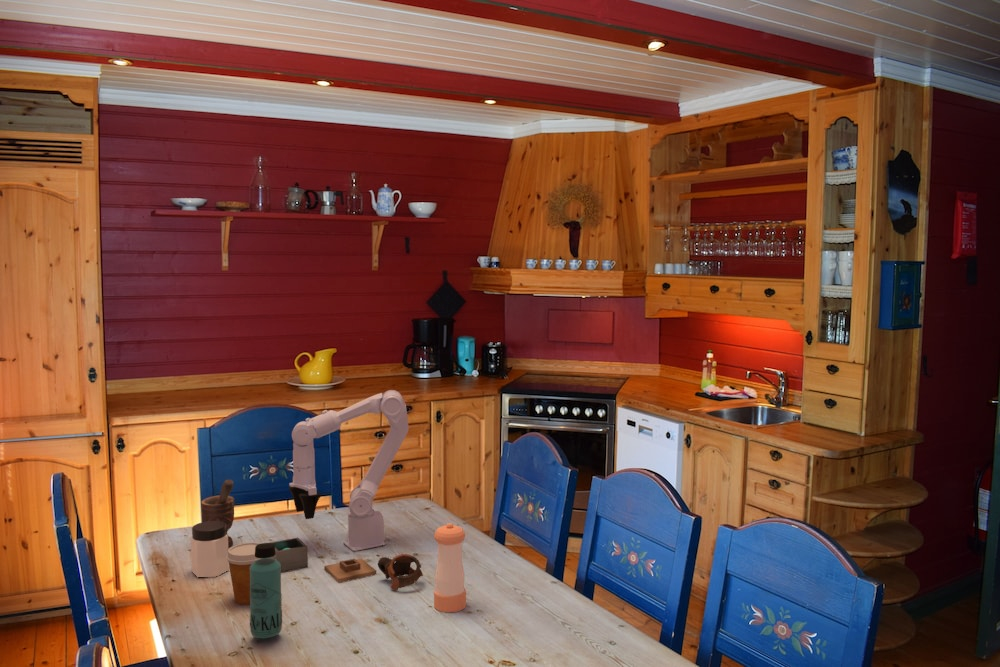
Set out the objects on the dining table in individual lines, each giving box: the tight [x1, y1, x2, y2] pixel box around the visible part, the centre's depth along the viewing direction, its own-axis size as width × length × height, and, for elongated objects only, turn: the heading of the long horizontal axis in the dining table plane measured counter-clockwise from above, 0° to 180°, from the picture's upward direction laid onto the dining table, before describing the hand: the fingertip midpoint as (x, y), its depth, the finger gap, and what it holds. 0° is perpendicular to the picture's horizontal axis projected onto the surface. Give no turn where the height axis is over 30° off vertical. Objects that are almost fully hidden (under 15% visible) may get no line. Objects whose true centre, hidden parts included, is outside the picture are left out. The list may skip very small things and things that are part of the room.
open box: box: [269, 536, 309, 574], centre depth 203 cm, size 8×8×6 cm
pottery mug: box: [377, 553, 424, 592], centre depth 191 cm, size 12×10×8 cm
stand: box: [323, 558, 377, 584], centre depth 199 cm, size 10×10×2 cm
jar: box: [190, 521, 230, 578], centre depth 199 cm, size 9×8×12 cm
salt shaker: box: [433, 522, 467, 613], centre depth 178 cm, size 7×7×19 cm
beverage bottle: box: [248, 542, 283, 639], centre depth 162 cm, size 6×7×20 cm
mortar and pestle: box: [200, 479, 235, 549], centre depth 216 cm, size 12×9×20 cm
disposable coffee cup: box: [226, 542, 263, 606], centre depth 182 cm, size 10×10×12 cm
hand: (304, 514), depth 216 cm, fingers open, 7 cm apart
